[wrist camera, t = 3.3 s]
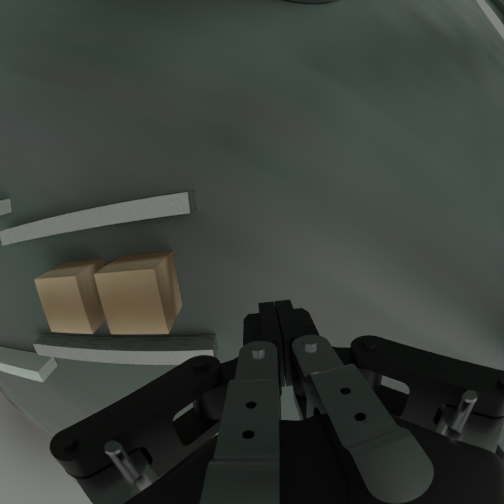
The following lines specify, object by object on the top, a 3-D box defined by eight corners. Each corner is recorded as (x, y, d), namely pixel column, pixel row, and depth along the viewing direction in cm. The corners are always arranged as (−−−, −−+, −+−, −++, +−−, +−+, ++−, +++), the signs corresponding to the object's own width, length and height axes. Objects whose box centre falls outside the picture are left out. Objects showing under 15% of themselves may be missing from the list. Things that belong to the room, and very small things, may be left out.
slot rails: (14, 226, 17) (-1, 231, 15) (194, 190, 17) (187, 192, 15) (48, 344, 20) (37, 354, 18) (218, 347, 20) (215, 363, 18)
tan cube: (120, 255, 18) (93, 273, 14) (172, 250, 18) (154, 268, 14) (132, 307, 19) (110, 334, 15) (182, 305, 19) (168, 333, 15)
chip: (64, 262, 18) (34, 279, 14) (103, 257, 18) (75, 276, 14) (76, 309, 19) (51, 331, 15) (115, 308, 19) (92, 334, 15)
